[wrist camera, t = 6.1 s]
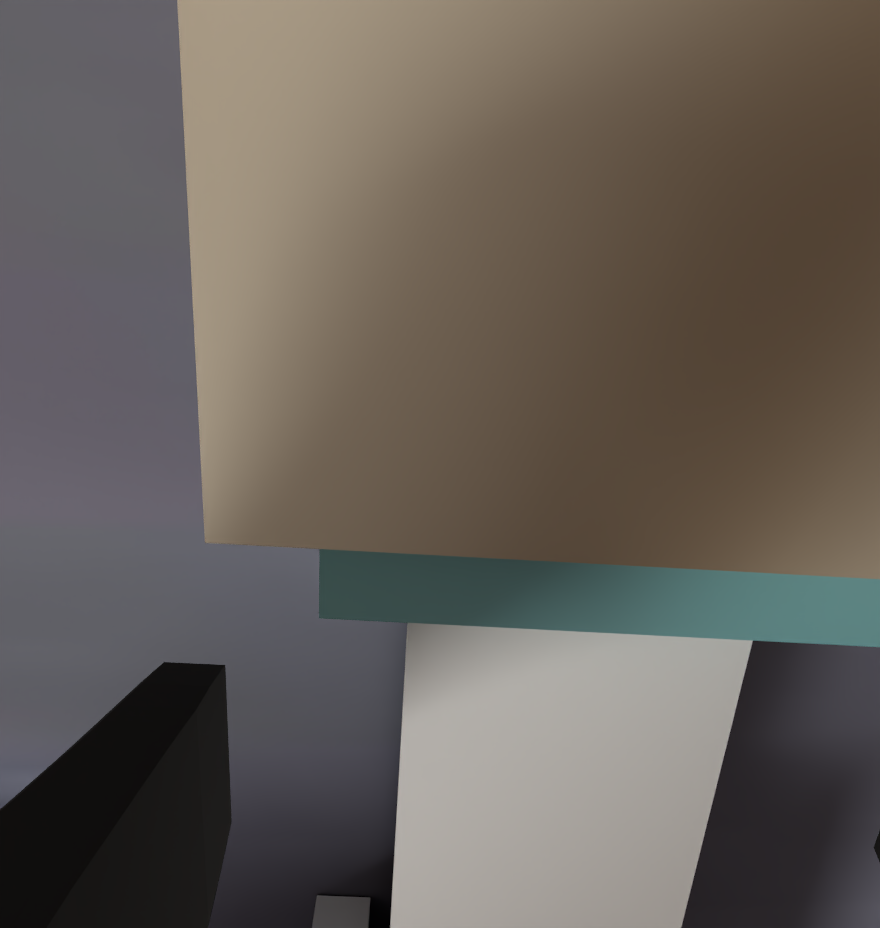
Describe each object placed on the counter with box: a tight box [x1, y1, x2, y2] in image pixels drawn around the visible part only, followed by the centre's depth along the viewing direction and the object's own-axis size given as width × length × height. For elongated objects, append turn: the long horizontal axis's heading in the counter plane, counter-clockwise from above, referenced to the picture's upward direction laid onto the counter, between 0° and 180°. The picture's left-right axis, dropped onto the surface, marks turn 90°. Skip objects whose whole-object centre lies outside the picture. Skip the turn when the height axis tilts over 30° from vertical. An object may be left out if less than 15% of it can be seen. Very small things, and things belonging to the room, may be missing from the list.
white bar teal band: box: [319, 549, 880, 928], centre depth 11 cm, size 5×12×4 cm, turn 176°
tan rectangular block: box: [178, 0, 880, 579], centre depth 8 cm, size 7×4×6 cm, turn 86°
